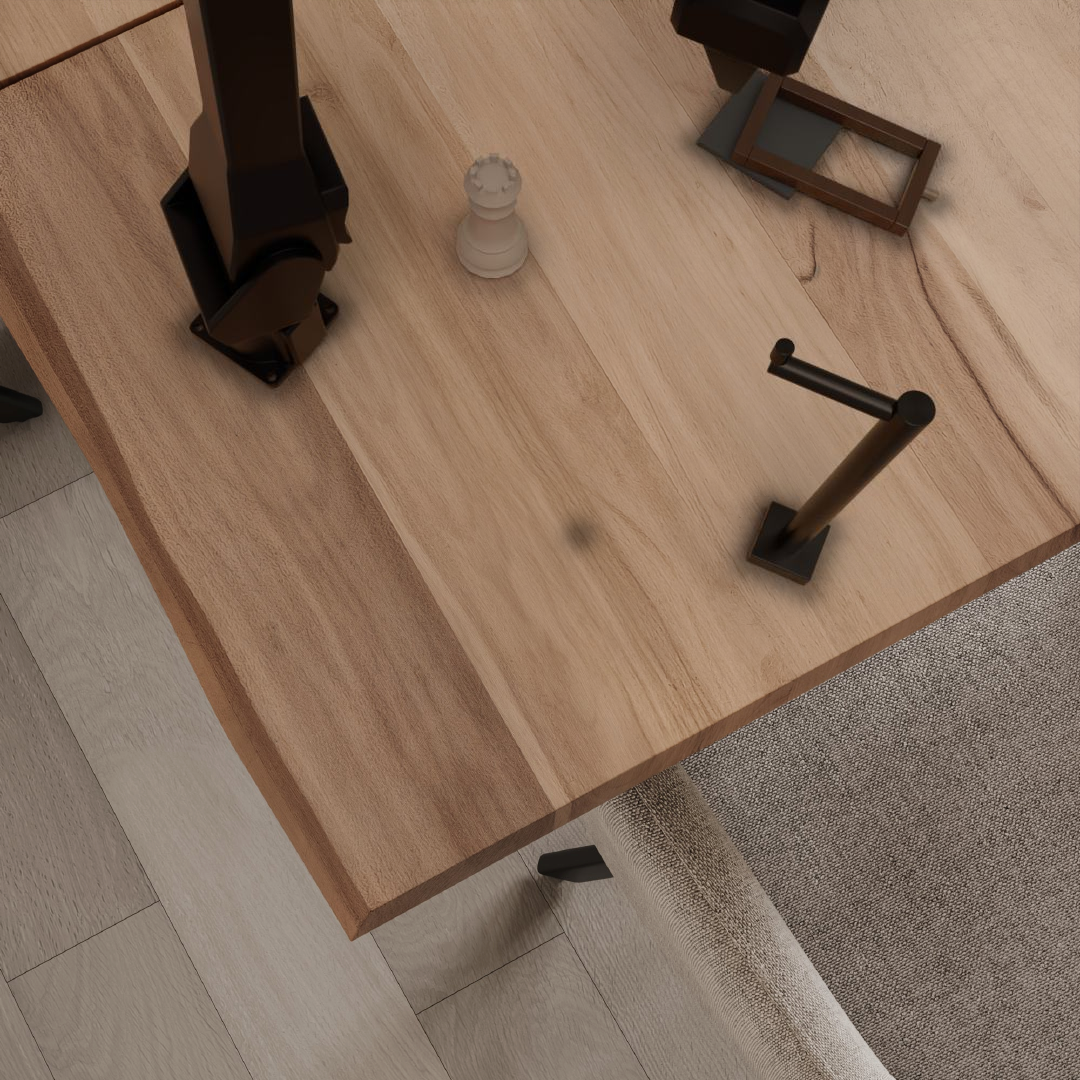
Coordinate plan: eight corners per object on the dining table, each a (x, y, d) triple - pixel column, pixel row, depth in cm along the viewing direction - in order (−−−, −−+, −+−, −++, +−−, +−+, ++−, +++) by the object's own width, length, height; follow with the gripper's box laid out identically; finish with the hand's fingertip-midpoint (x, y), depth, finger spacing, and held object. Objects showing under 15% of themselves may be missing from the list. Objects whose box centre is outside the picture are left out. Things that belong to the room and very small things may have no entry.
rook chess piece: (447, 272, 67) (442, 196, 59) (466, 211, 68) (463, 129, 61) (518, 290, 67) (522, 215, 59) (535, 228, 68) (542, 147, 60)
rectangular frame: (733, 150, 69) (924, 235, 68) (771, 68, 70) (957, 150, 70) (729, 160, 69) (917, 243, 69) (766, 78, 71) (949, 159, 71)
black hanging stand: (674, 530, 63) (760, 379, 43) (697, 476, 64) (791, 305, 44) (804, 586, 62) (950, 459, 43) (825, 531, 63) (977, 382, 44)
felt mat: (696, 144, 70) (697, 140, 70) (753, 71, 72) (754, 67, 72) (788, 201, 70) (790, 197, 69) (843, 125, 71) (845, 122, 71)
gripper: (985, -23, 40) (844, 220, 55) (1112, -347, 45) (952, -45, 60) (703, -134, 41) (639, 136, 56) (862, -440, 46) (765, -119, 61)
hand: (759, 24), depth 58 cm, fingers open, 9 cm apart
